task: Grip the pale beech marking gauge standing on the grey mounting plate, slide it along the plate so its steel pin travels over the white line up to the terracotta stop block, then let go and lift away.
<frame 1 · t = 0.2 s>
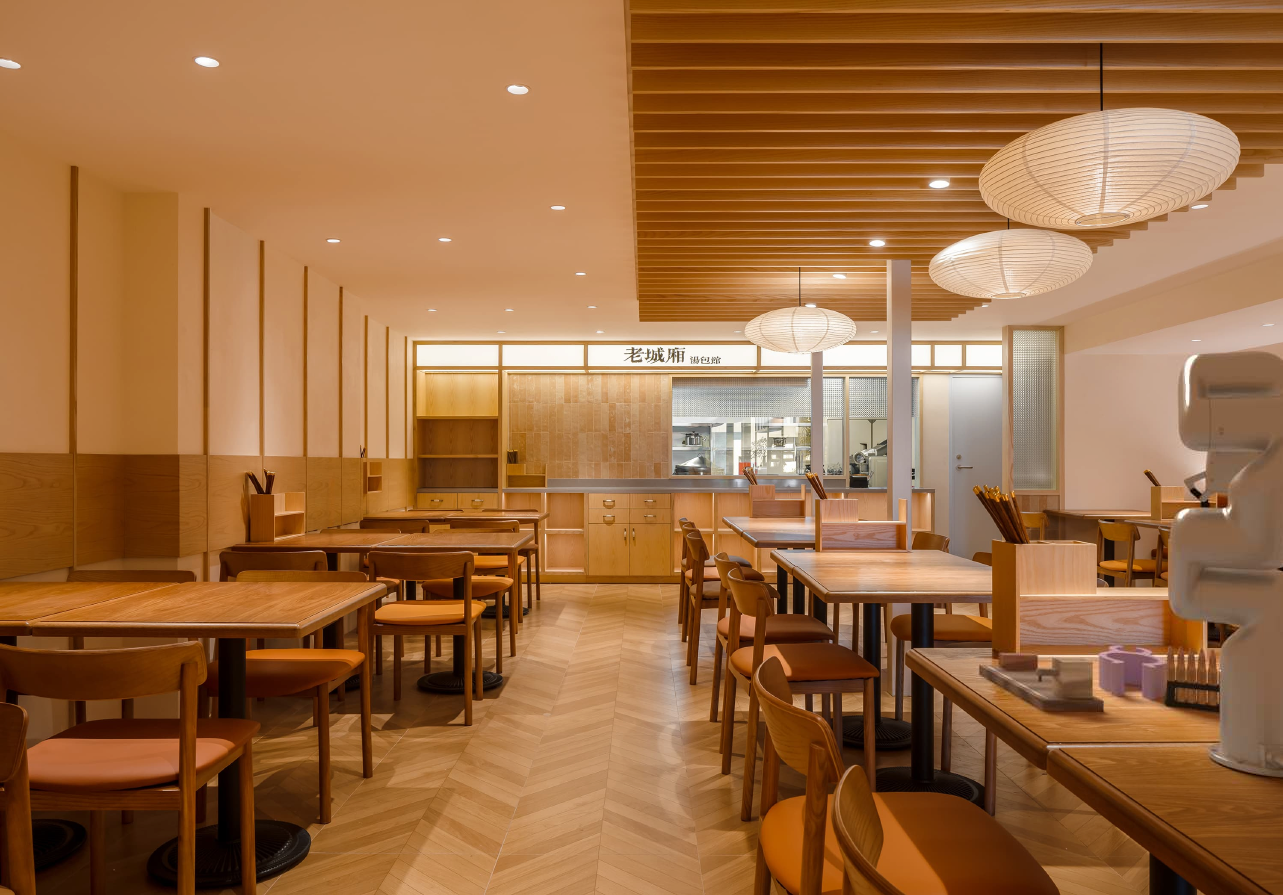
hand: (1236, 523, 160), 37 cm above the table, tool pointing down, fingers open, 9 cm apart
ammunition clip: (1196, 709, 162), on the table
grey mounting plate: (1036, 690, 173), on the table
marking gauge: (1072, 694, 164), point 2 cm above the table, touching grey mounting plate
clip: (1131, 688, 178), on the table
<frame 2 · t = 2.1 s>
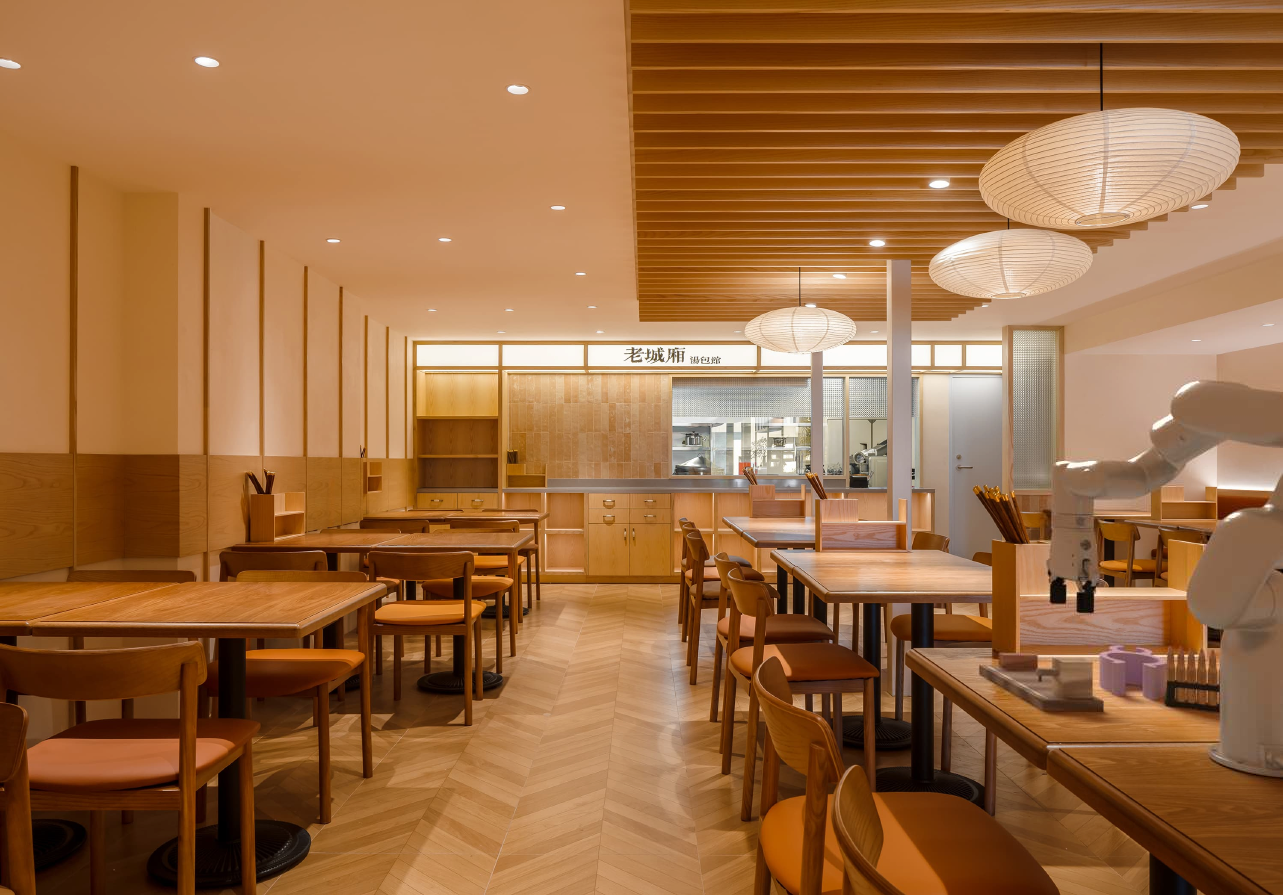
hand: (1071, 608, 164), 19 cm above the table, tool pointing down, fingers open, 9 cm apart
nothing on the table moved.
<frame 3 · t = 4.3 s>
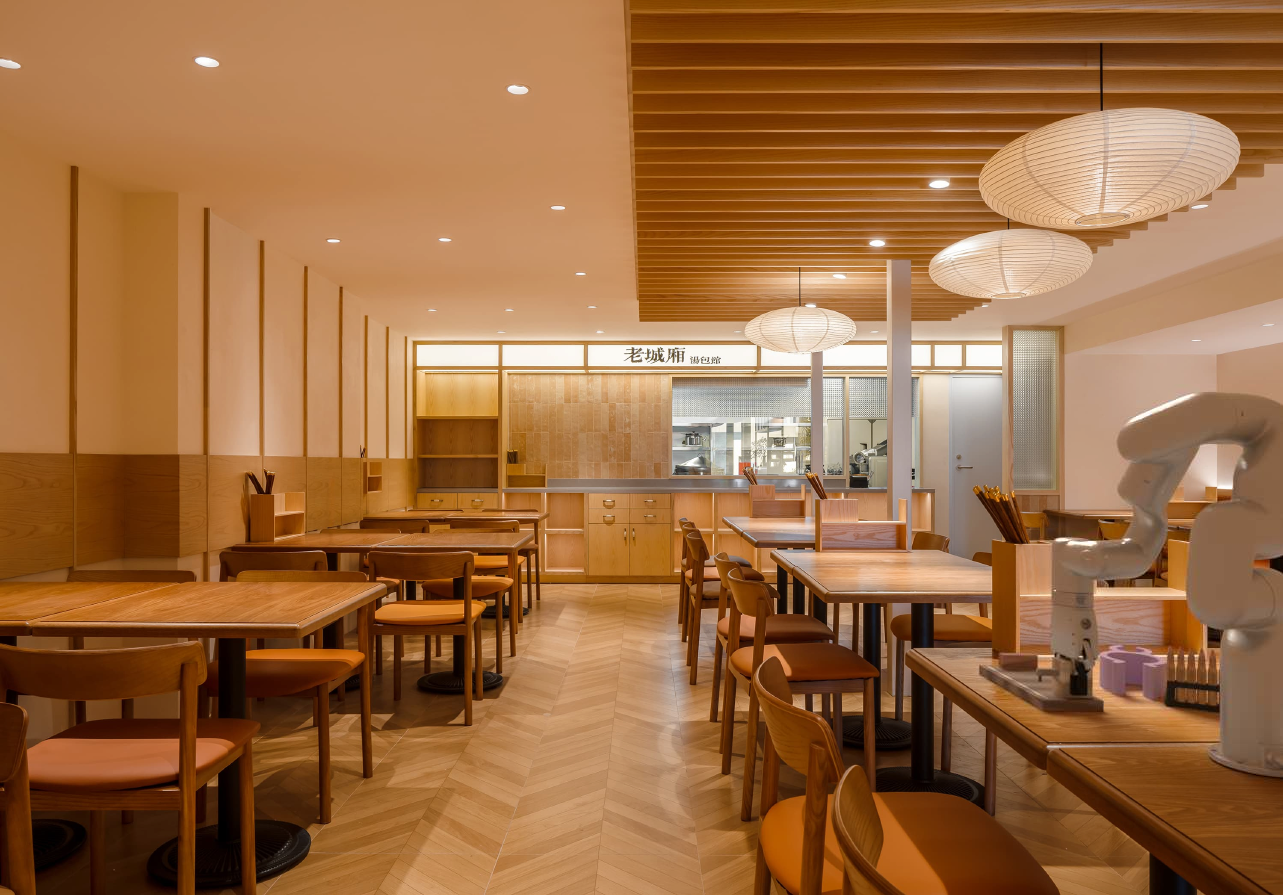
hand: (1072, 690, 164), 3 cm above the table, tool pointing down, fingers closed on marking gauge, 4 cm apart
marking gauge: (1072, 694, 164), point 2 cm above the table, touching gripper, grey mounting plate
everything else where it was.
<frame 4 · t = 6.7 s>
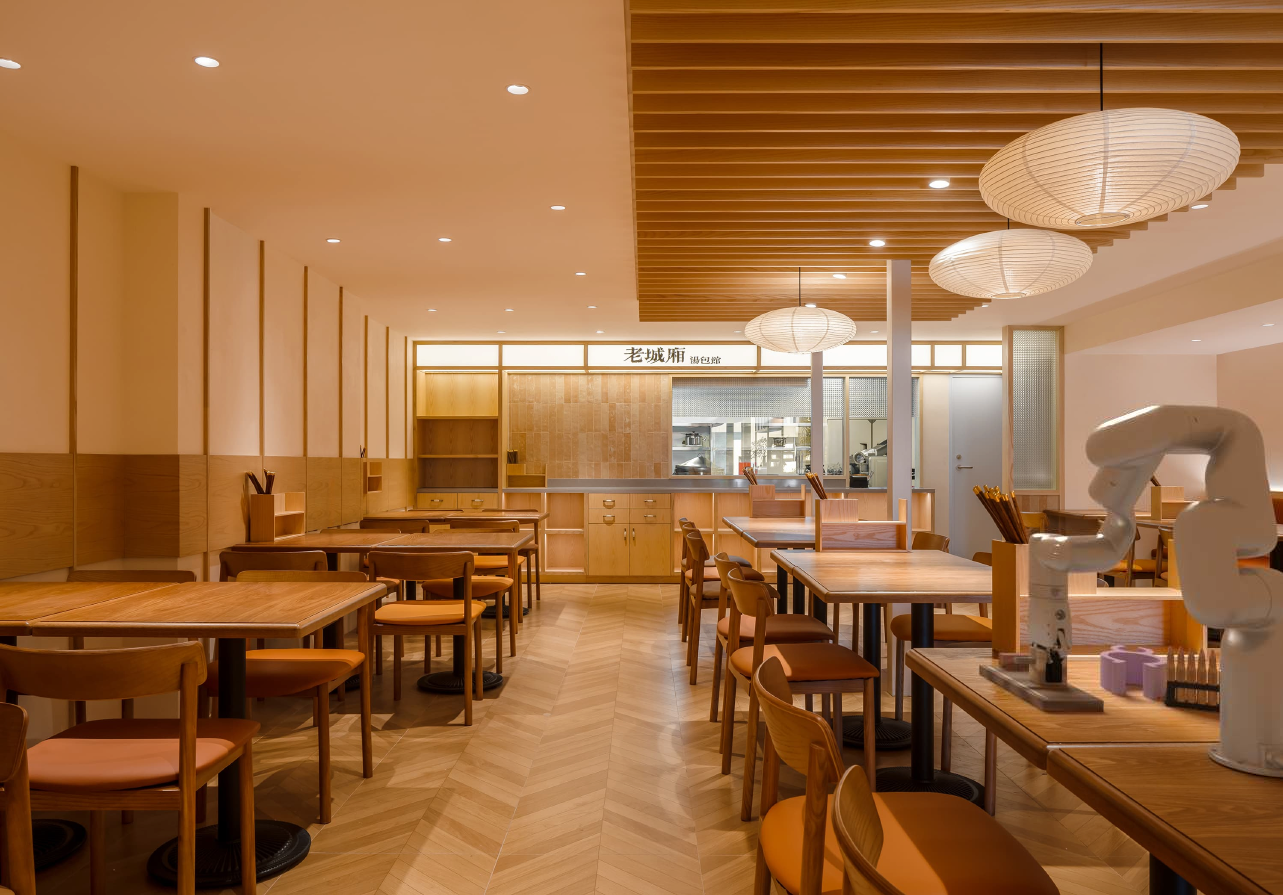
hand: (1047, 678, 173), 3 cm above the table, tool pointing down, fingers closed on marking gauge, 4 cm apart
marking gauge: (1047, 682, 173), point 2 cm above the table, touching gripper
everything else where it was.
when the fingers open (3 cm above the table, at t = 9.5 s): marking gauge stays where it is, resting on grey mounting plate.
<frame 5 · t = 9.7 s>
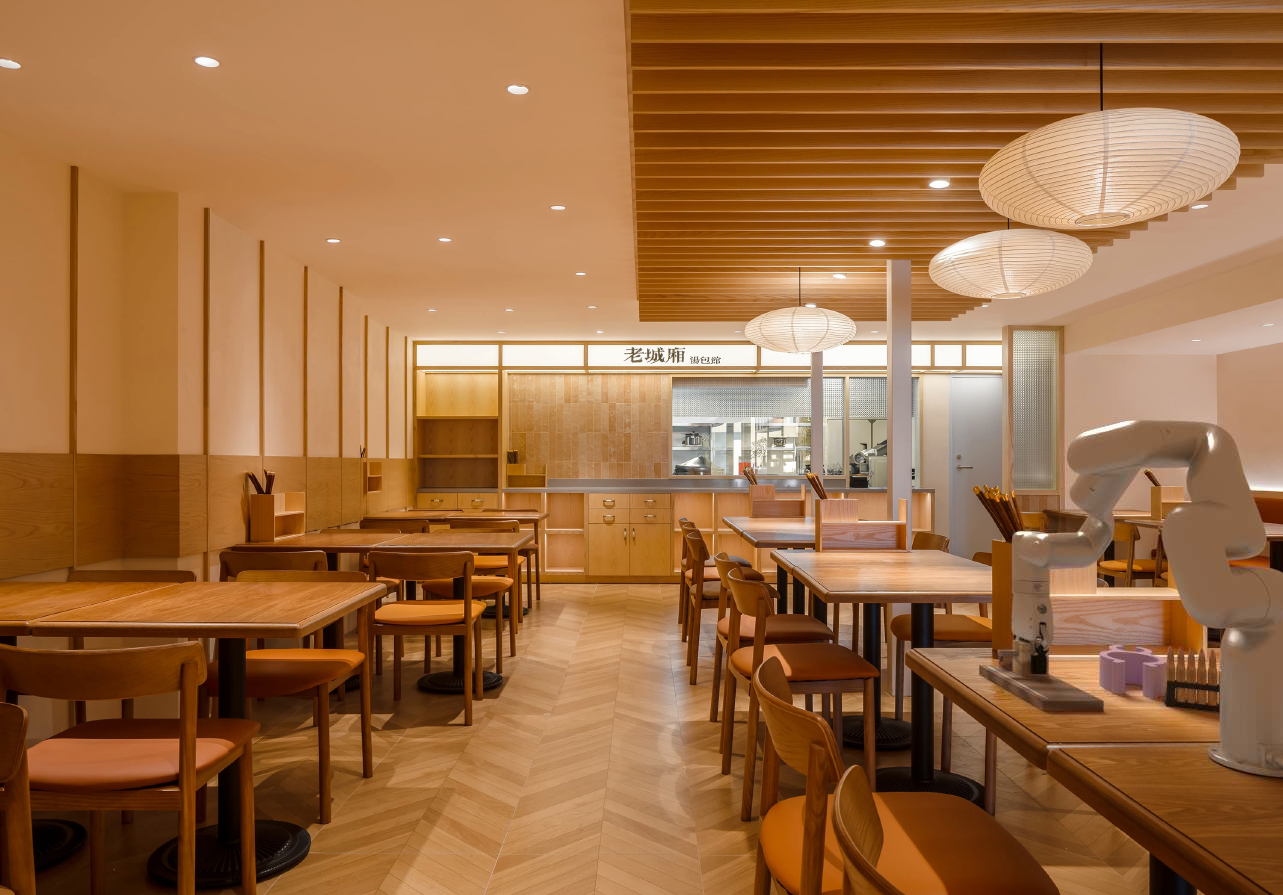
hand: (1030, 669, 180), 3 cm above the table, tool pointing down, fingers open, 5 cm apart
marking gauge: (1030, 673, 180), point 2 cm above the table, touching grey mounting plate
everything else where it was.
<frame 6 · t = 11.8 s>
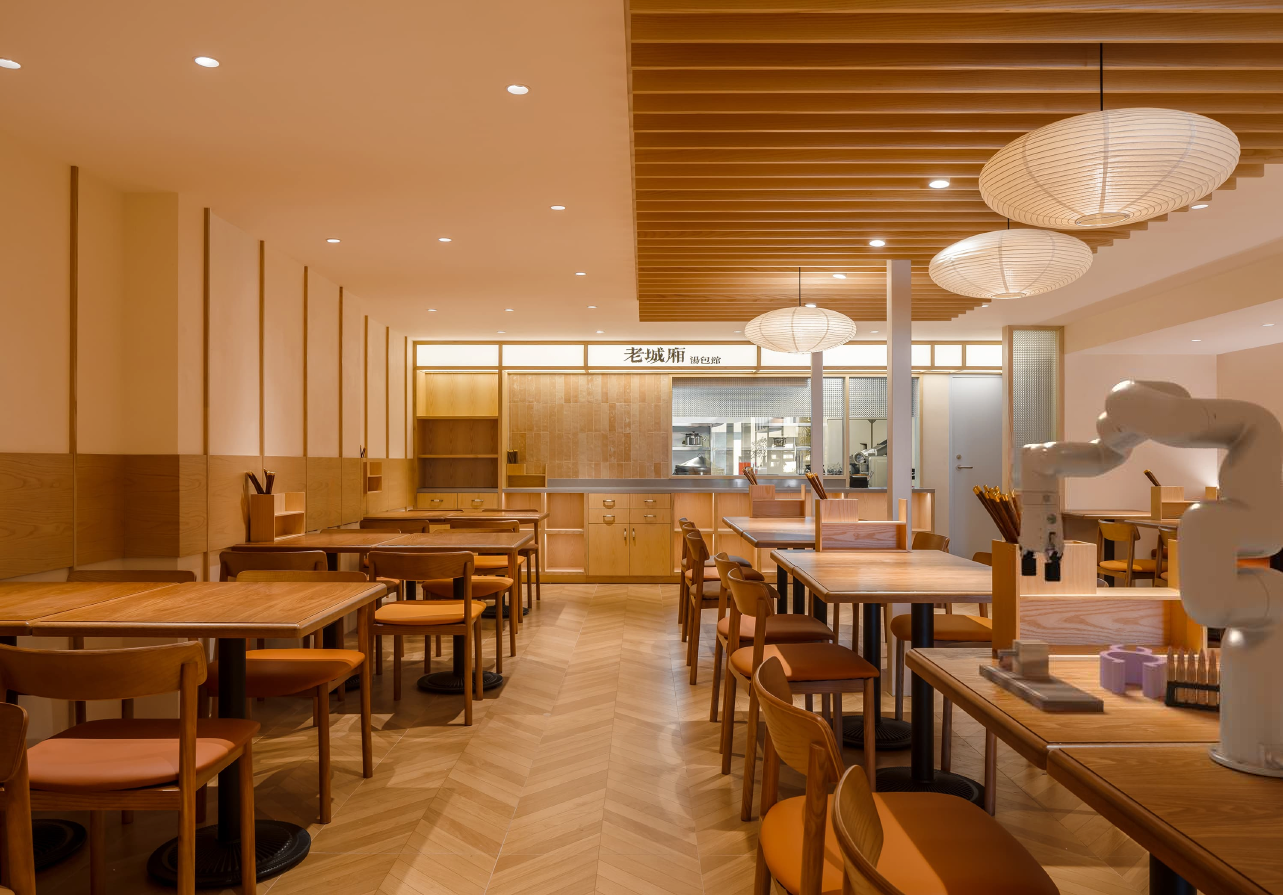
hand: (1040, 578, 179), 23 cm above the table, tool pointing down, fingers open, 9 cm apart
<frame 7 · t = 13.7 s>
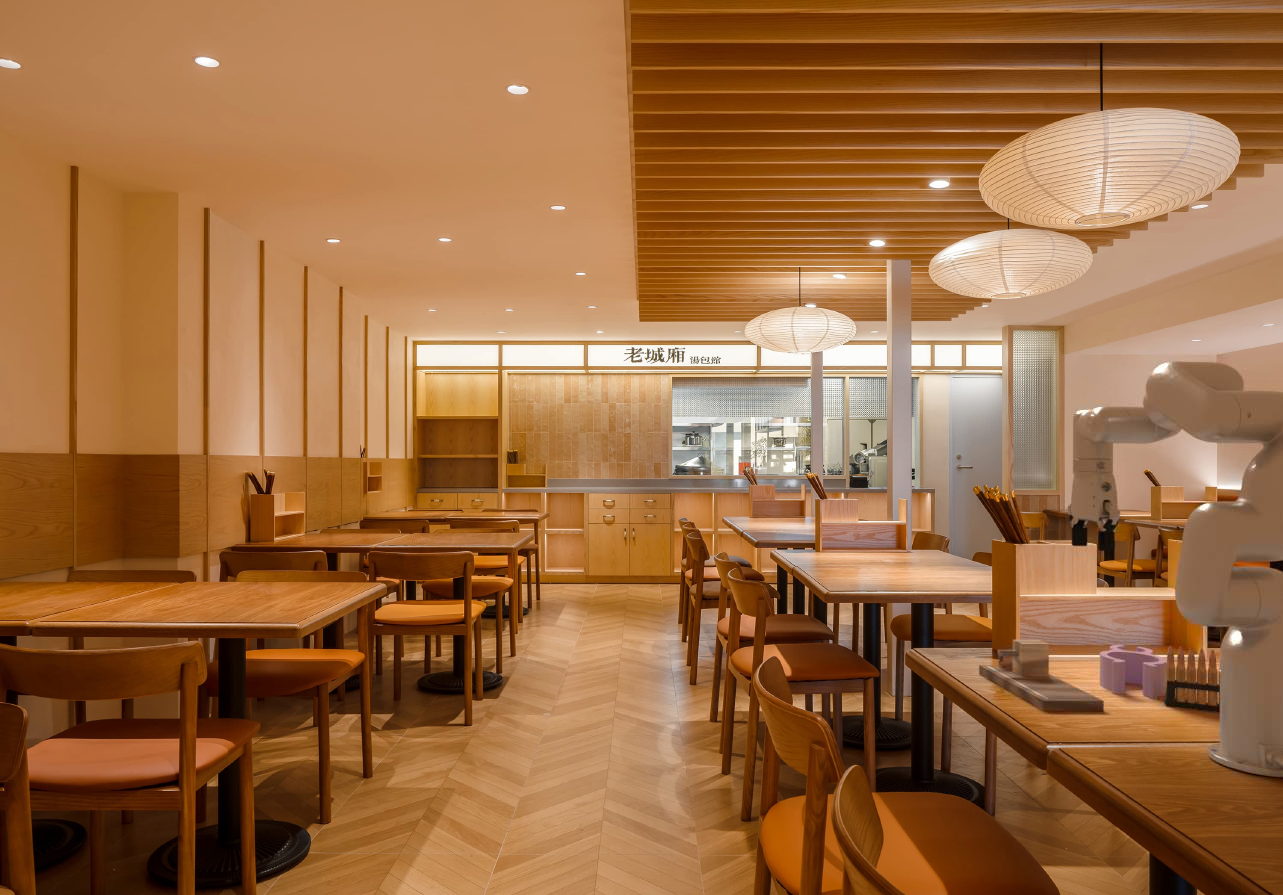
hand: (1092, 548, 174), 30 cm above the table, tool pointing down, fingers open, 9 cm apart
at the end: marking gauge 0.3 cm from the target spot, point 2.0 cm above the table; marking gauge tilted 0°; the gripper is holding nothing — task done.
